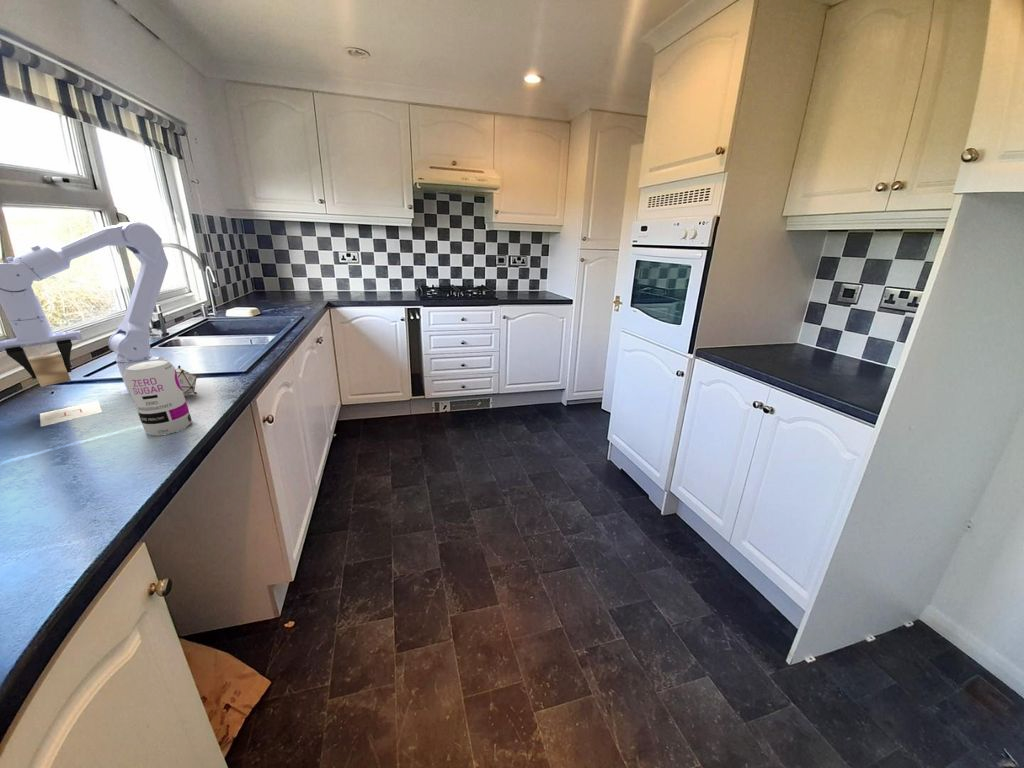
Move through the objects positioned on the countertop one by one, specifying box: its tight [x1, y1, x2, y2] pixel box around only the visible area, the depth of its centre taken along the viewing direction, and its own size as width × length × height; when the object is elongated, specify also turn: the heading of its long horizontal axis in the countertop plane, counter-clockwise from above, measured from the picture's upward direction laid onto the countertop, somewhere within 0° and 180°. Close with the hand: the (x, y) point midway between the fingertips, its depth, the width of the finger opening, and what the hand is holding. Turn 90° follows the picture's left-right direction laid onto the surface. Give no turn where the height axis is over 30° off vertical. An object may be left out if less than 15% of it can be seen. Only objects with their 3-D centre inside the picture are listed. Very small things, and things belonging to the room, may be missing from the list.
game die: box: [175, 364, 201, 397], centre depth 106 cm, size 9×8×10 cm
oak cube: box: [27, 352, 72, 387], centre depth 97 cm, size 5×5×6 cm
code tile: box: [39, 400, 103, 427], centre depth 97 cm, size 10×10×1 cm
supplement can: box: [124, 358, 193, 436], centre depth 88 cm, size 8×8×15 cm
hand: (52, 374), depth 98 cm, fingers closed on oak cube, 5 cm apart
